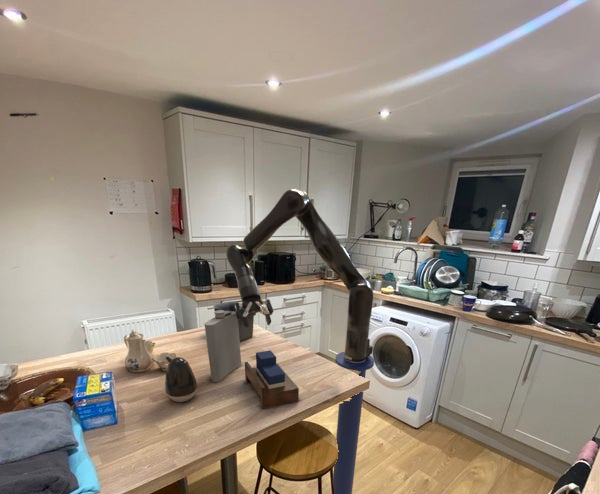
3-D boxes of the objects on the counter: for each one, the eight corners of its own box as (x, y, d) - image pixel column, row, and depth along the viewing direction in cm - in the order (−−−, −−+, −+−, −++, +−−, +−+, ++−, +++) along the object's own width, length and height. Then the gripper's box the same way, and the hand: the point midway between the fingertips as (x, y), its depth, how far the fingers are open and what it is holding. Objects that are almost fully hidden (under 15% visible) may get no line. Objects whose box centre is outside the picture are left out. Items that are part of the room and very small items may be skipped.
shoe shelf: (277, 374, 131) (277, 356, 128) (298, 400, 115) (298, 380, 111) (245, 381, 126) (244, 362, 123) (262, 409, 110) (261, 387, 106)
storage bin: (260, 336, 167) (259, 309, 161) (236, 345, 156) (234, 316, 150) (233, 326, 180) (232, 300, 174) (209, 334, 169) (206, 306, 163)
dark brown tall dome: (183, 387, 121) (178, 348, 115) (204, 395, 116) (200, 355, 110) (160, 400, 113) (152, 359, 107) (181, 409, 108) (175, 367, 102)
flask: (233, 362, 141) (228, 304, 131) (242, 363, 139) (238, 305, 129) (207, 380, 126) (199, 317, 116) (218, 382, 124) (210, 318, 114)
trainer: (256, 371, 123) (255, 352, 120) (271, 368, 125) (271, 350, 122) (268, 389, 111) (268, 369, 108) (285, 385, 114) (285, 366, 111)
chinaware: (185, 371, 136) (184, 332, 130) (147, 383, 123) (143, 340, 117) (147, 353, 150) (144, 317, 145) (108, 362, 138) (104, 323, 132)
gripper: (232, 285, 127) (242, 323, 122) (267, 282, 132) (278, 319, 127) (229, 296, 133) (239, 332, 128) (263, 292, 139) (273, 327, 134)
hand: (258, 325), depth 128 cm, fingers open, 8 cm apart
